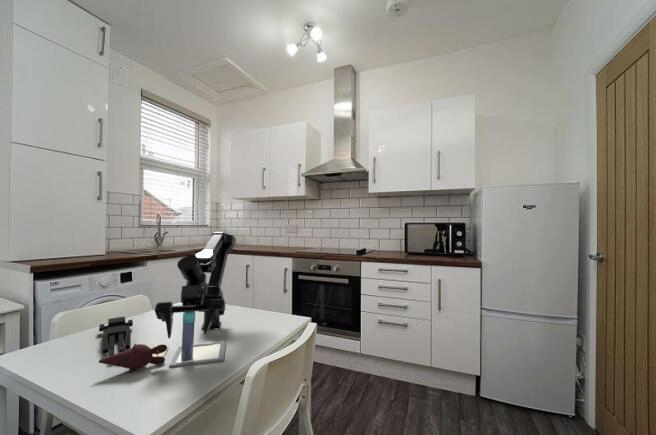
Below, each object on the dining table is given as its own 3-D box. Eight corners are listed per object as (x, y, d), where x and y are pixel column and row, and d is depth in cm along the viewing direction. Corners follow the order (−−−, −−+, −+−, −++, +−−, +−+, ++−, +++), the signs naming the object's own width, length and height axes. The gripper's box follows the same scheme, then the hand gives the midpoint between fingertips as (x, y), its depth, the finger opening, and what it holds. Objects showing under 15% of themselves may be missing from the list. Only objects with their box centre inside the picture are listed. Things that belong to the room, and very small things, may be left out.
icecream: (96, 358, 65) (167, 351, 73) (103, 340, 72) (168, 335, 79) (93, 384, 66) (164, 374, 74) (100, 363, 73) (165, 356, 80)
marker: (184, 355, 79) (186, 311, 80) (195, 356, 79) (197, 311, 80) (178, 361, 76) (180, 314, 77) (189, 361, 76) (192, 314, 77)
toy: (137, 362, 79) (131, 327, 102) (138, 346, 79) (132, 314, 102) (94, 373, 73) (99, 333, 96) (95, 355, 73) (99, 319, 96)
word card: (154, 349, 84) (154, 348, 84) (168, 348, 86) (168, 347, 86) (147, 358, 79) (147, 357, 79) (163, 357, 80) (163, 355, 80)
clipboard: (178, 348, 86) (178, 344, 86) (225, 344, 90) (225, 340, 90) (168, 367, 74) (169, 362, 74) (223, 361, 79) (223, 356, 79)
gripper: (158, 274, 80) (143, 325, 69) (225, 273, 85) (221, 320, 74) (163, 295, 87) (151, 344, 76) (225, 292, 93) (222, 337, 82)
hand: (187, 336), depth 77 cm, fingers open, 9 cm apart
